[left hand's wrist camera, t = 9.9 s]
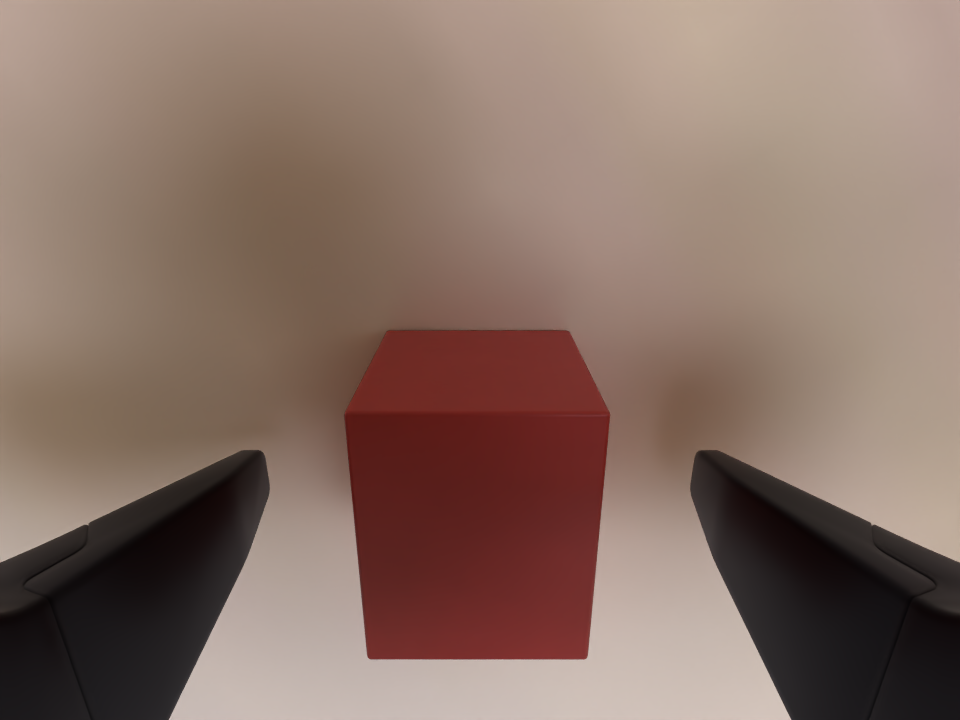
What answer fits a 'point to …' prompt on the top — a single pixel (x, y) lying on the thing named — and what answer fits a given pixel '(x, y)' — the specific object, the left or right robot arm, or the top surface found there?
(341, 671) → the top surface
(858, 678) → the left robot arm
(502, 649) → the brick
